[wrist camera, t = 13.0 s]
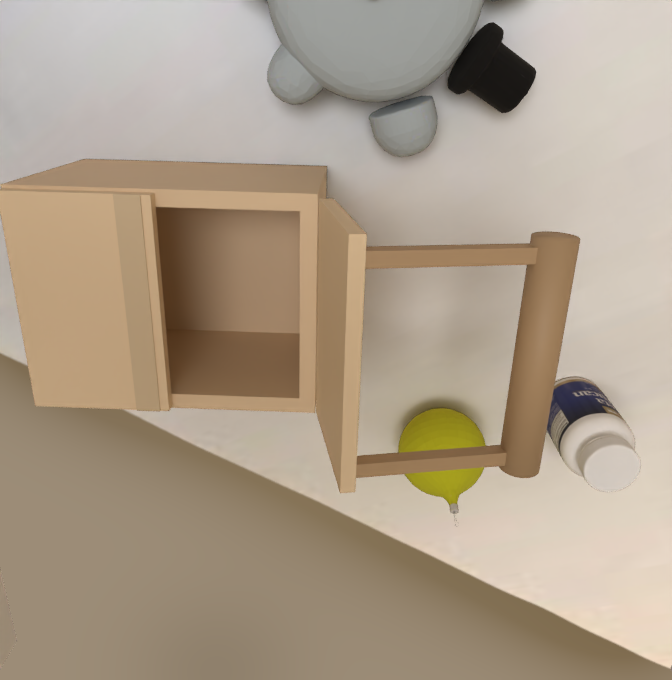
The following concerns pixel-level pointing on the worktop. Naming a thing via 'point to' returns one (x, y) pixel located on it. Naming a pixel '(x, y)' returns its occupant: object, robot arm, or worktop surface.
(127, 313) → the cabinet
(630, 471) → the pill bottle
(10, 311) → the worktop surface
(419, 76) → the figurine
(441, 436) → the ornament
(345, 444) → the tan handled panel part
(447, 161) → the worktop surface
